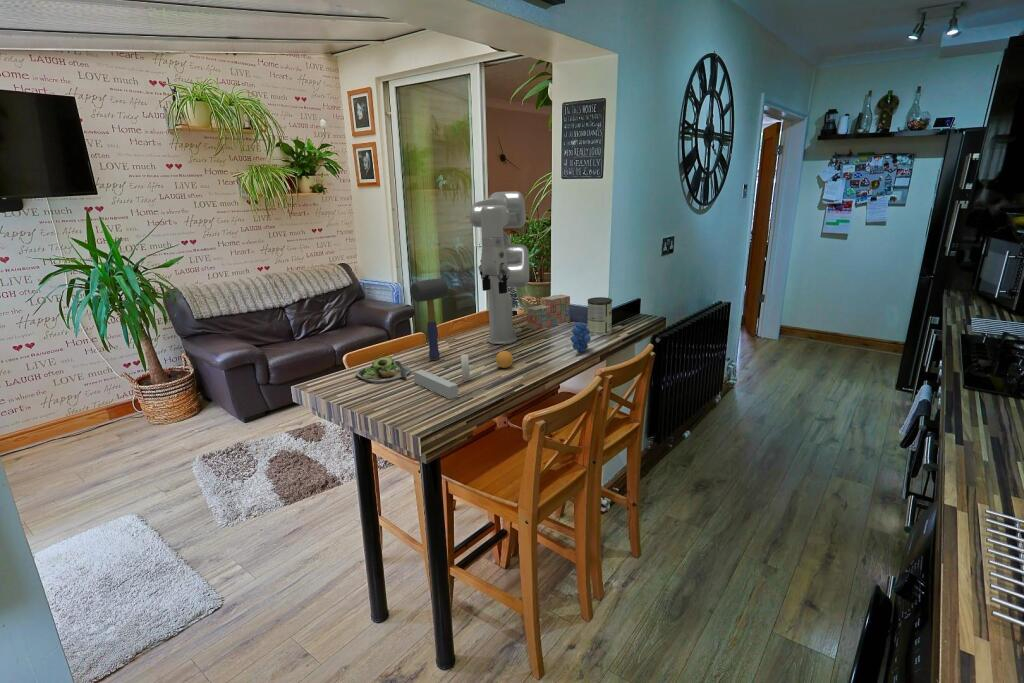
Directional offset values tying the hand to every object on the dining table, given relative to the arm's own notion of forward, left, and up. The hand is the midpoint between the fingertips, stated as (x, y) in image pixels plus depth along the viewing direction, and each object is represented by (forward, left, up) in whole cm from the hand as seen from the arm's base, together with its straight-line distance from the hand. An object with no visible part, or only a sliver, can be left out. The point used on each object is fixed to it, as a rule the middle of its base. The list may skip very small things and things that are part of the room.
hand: (494, 291), depth 186 cm
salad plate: (+37, -17, -26) cm, 49 cm away
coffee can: (-54, +4, -26) cm, 60 cm away
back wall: (+33, +9, -25) cm, 43 cm away
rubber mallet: (+16, -17, -25) cm, 35 cm away
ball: (+4, +9, -22) cm, 24 cm away
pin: (+21, +9, -25) cm, 34 cm away
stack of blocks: (-49, -21, -26) cm, 59 cm away
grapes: (-27, +18, -25) cm, 41 cm away
